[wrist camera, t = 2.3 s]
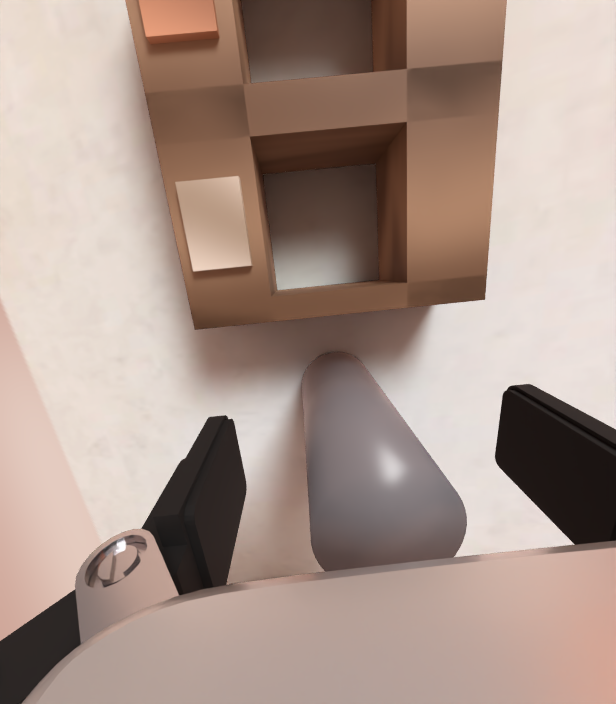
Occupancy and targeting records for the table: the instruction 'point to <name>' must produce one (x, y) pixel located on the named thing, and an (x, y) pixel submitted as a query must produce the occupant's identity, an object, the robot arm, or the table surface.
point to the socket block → (326, 152)
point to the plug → (370, 475)
